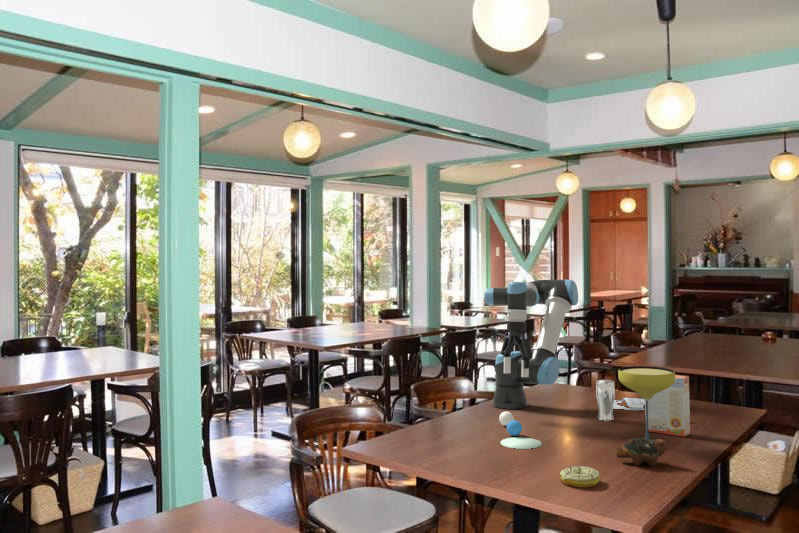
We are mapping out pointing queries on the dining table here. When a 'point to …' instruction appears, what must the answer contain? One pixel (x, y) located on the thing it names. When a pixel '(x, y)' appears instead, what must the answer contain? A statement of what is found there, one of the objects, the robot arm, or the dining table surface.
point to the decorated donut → (580, 476)
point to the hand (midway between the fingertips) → (515, 375)
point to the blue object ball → (514, 428)
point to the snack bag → (630, 404)
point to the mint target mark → (521, 443)
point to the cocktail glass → (646, 382)
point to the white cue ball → (505, 418)
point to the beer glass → (605, 399)
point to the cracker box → (670, 409)
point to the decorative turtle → (642, 450)
